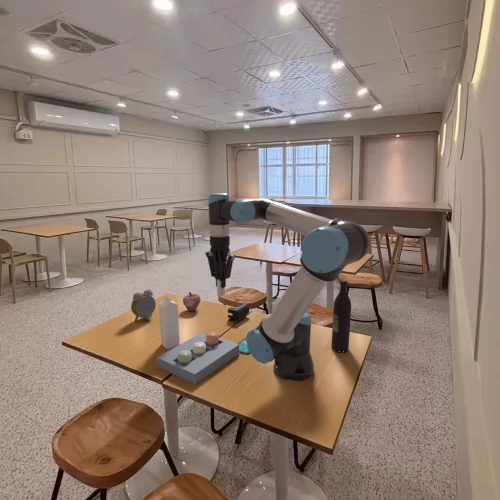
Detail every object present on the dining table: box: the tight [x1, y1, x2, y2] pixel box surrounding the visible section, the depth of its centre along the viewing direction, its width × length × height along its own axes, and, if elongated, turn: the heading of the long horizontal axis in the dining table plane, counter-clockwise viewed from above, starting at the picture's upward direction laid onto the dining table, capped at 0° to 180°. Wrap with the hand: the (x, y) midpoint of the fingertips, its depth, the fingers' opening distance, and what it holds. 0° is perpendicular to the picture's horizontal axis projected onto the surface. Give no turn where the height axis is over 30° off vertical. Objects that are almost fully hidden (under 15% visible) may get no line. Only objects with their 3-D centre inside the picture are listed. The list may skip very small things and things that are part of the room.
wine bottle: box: [330, 279, 352, 353], centre depth 139 cm, size 7×7×30 cm
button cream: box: [192, 342, 206, 356], centre depth 133 cm, size 5×5×4 cm
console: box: [156, 331, 240, 385], centre depth 134 cm, size 20×26×4 cm
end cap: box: [227, 303, 250, 323], centre depth 173 cm, size 10×7×7 cm
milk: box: [158, 295, 181, 350], centre depth 144 cm, size 6×6×22 cm
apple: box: [182, 291, 201, 312], centre depth 184 cm, size 10×9×10 cm
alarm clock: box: [130, 288, 157, 322], centre depth 171 cm, size 12×7×15 cm, turn 141°
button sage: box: [177, 350, 192, 366], centre depth 127 cm, size 5×5×4 cm
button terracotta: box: [206, 331, 220, 346], centre depth 139 cm, size 5×5×4 cm
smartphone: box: [237, 337, 251, 356], centre depth 146 cm, size 9×1×15 cm
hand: (221, 295), depth 131 cm, fingers closed
